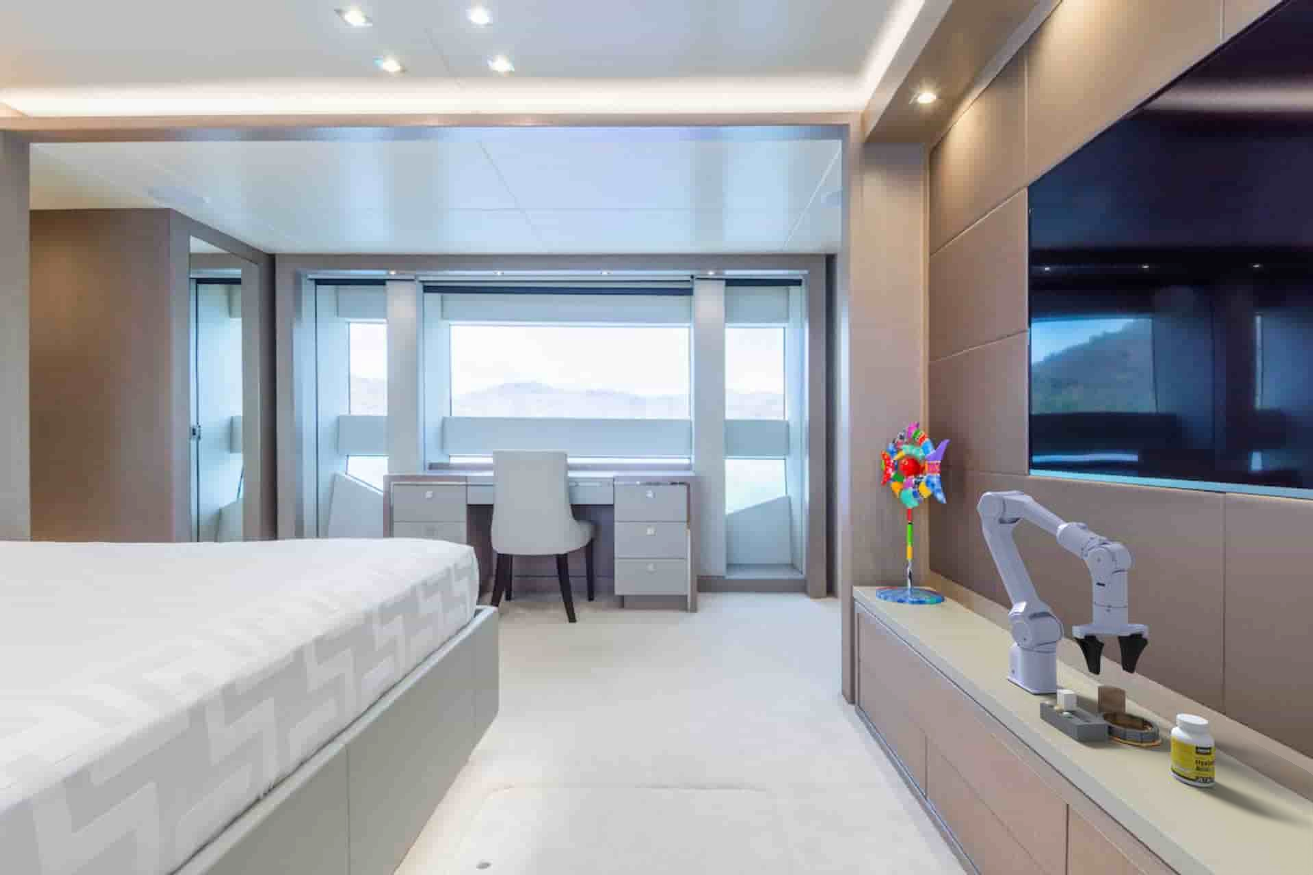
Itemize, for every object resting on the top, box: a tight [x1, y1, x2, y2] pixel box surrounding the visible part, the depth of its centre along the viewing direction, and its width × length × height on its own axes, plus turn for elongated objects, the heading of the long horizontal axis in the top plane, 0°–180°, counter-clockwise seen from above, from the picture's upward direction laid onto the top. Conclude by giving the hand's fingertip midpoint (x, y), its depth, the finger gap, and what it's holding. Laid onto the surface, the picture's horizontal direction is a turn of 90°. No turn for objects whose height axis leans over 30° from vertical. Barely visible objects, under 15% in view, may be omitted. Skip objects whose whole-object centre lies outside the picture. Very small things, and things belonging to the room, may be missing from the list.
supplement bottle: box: [1170, 713, 1216, 788], centre depth 103 cm, size 5×5×10 cm
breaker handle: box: [1056, 688, 1077, 711], centre depth 123 cm, size 2×2×3 cm
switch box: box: [1039, 700, 1109, 742], centre depth 122 cm, size 10×6×4 cm, turn 4°
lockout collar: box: [1096, 711, 1163, 747], centre depth 119 cm, size 10×10×2 cm
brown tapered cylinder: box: [1097, 685, 1127, 714], centre depth 128 cm, size 4×4×5 cm
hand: (1111, 672), depth 128 cm, fingers open, 7 cm apart
